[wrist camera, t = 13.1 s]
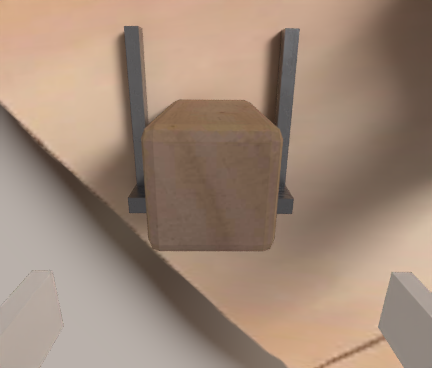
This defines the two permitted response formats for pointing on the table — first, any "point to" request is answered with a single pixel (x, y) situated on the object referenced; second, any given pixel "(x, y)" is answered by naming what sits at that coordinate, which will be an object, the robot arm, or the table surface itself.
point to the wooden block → (211, 177)
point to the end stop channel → (141, 114)
